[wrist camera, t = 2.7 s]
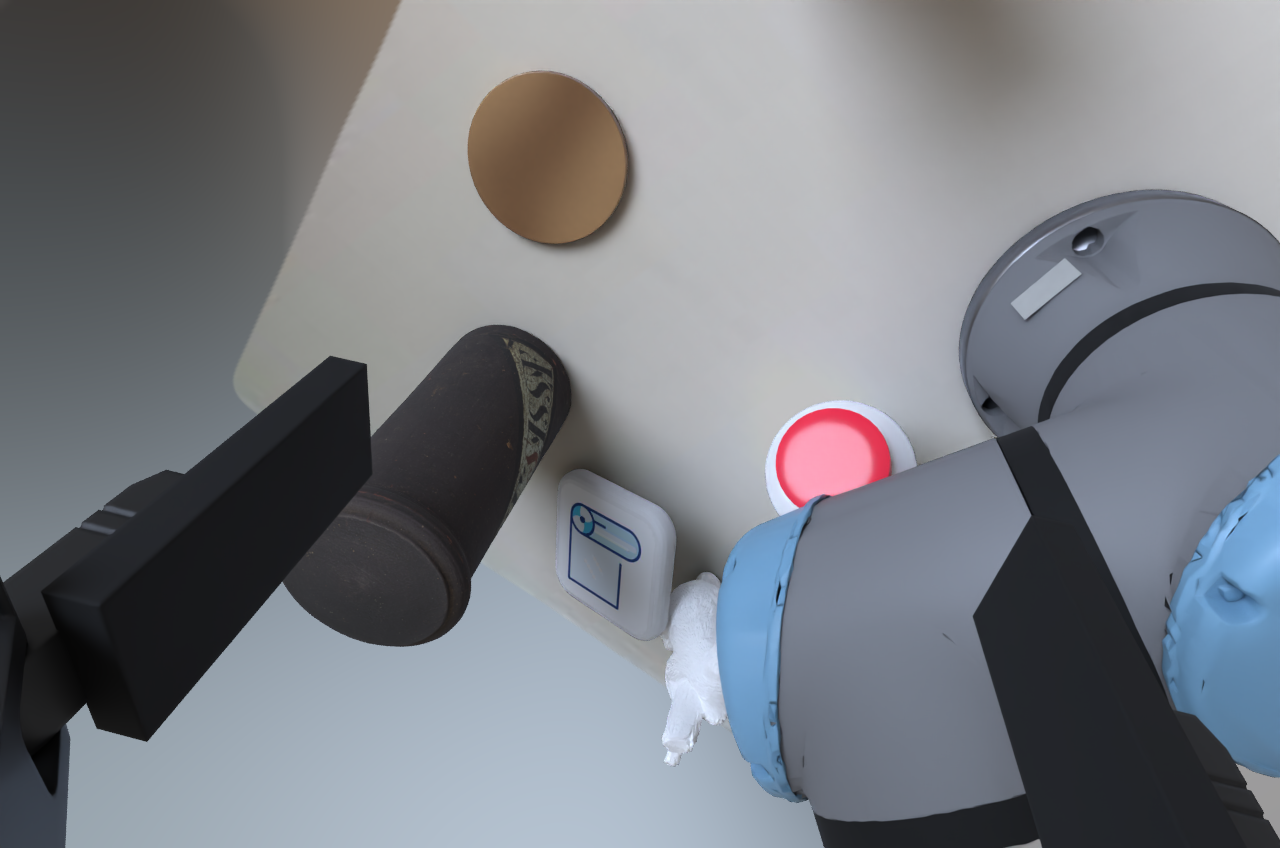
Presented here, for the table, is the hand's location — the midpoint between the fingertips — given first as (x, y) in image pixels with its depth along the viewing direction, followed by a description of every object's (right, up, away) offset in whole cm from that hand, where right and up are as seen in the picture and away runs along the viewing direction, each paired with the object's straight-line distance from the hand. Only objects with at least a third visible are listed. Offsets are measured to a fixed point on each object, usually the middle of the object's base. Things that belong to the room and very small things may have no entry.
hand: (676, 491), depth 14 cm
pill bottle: (+13, -3, +31) cm, 33 cm away
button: (-7, -6, +37) cm, 38 cm away
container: (-9, +4, +33) cm, 35 cm away
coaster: (-6, +16, +26) cm, 31 cm away
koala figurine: (+4, -11, +39) cm, 41 cm away
